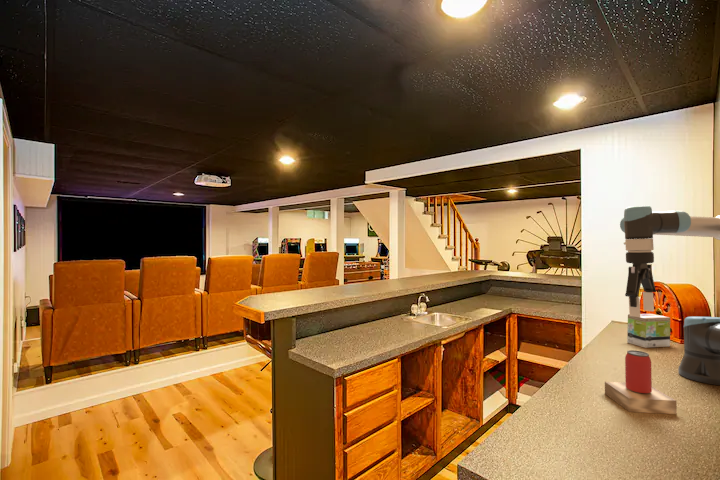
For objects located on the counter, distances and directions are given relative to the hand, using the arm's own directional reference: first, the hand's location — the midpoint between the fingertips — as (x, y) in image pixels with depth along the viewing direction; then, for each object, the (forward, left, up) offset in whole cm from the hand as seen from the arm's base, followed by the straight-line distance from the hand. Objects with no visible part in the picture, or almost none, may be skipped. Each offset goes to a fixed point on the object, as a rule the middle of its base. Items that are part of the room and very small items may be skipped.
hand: (642, 313), depth 120 cm
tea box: (-41, -62, -27) cm, 79 cm away
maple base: (+7, +9, -27) cm, 29 cm away
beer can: (+7, +9, -23) cm, 26 cm away
